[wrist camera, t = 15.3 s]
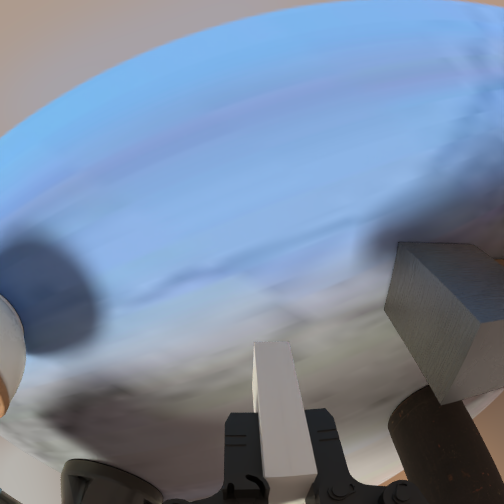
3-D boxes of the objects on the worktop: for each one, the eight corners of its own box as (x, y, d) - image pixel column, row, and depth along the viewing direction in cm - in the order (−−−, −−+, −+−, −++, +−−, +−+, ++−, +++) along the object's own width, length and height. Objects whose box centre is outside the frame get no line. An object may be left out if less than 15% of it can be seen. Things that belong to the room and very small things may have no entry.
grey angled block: (383, 310, 22) (440, 405, 13) (398, 242, 20) (480, 323, 11) (455, 304, 22) (519, 381, 13) (472, 244, 20) (555, 309, 11)
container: (378, 442, 29) (422, 593, 11) (390, 393, 26) (461, 581, 7) (444, 421, 29) (502, 553, 10) (465, 369, 25) (552, 522, 7)
